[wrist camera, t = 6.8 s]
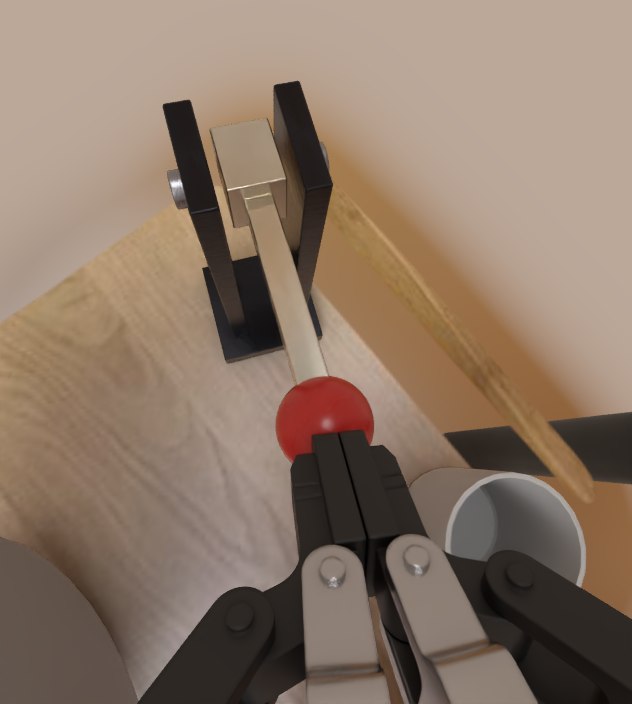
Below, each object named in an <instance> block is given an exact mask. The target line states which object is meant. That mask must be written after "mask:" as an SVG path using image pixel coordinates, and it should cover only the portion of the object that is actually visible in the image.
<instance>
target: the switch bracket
mask: <svg viewBox="0 0 632 704" xmlns="http://www.w3.org/2000/svg"><path fill="white" fill-rule="evenodd" d="M163 110H164V114H165V119H166V123H167V126H168V130H169V134H170V138H171V142H172V146H173V150H174V154H175V158H176V162H177V166H178V169H175V170H169V171H167V176H168V181H169V185H170V188H171V192H172V195H173V198H174V201H175V204H176V207H177V208H178V209H179V210H180V209H185V208H188V210H189V214H190V217H191V219H192V222H193V225H194V228H195V230H196V233H197V236H198V239H199V241H200V244H201V247H202V249H203V252H204V255H205V258H206V260H207V263H208V266H209V267H205V268H202V269H203V273H204V277H205V281H206V285H207V289H208V293H209V297H210V301H211V305H212V309H213V313H214V317H215V321H216V325H217V329H218V333H219V337H220V341H221V345H222V349H223V353H224V357H225V360H226V362H227V363H232V362H236V361H240V360H243V359H247V358H251V357H255V356H259V355H263V354H267V353H270V352H274V351H278V350H282V349H284V346H283V343H282V339H281V336H280V332H279V329H278V325H277V322H276V318H275V315H274V311H273V308H272V304H271V301H270V297H269V294H268V290H267V287H266V283H265V280H264V276H263V273H262V269H261V266H260V262H259V259H258V256H253V257H249V258H244V259H240V260H236V261H232V260H231V256H230V251H229V247H228V243H227V239H226V234H225V230H224V226H223V221H222V217H221V213H220V209H219V205H218V201H217V197H216V194H215V190H214V186H213V182H212V179H211V175H210V171H209V168H208V164H207V160H206V157H205V152H204V149H203V145H202V141H201V137H200V134H199V130H198V126H197V122H196V119H195V115H194V111H193V107H192V104H191V101H190V100H183V101H178V102H172V103H166V104H163ZM274 139H275V143H276V146H277V149H278V152H279V155H280V158H281V161H282V164H283V167H284V170H285V173H286V177H287V217H286V218H282V219H281V222H282V225H283V229H284V232H285V235H286V238H287V242H288V245H289V248H290V251H291V254H292V258H293V261H294V264H295V267H296V271H297V274H298V277H299V280H300V283H301V287H302V290H303V293H304V296H305V300H306V303H307V306H308V309H309V313H310V316H311V319H312V322H313V325H314V329H315V332H316V335H317V338H318V340H320V339H321V338H322V336H323V334H322V331H321V328H320V324H319V321H318V317H317V314H316V311H315V307H314V304H313V301H312V297H311V294H310V291H311V286H312V281H313V276H314V272H315V267H316V262H317V257H318V253H319V248H320V243H321V239H322V234H323V229H324V225H325V220H326V215H327V210H328V206H329V201H330V196H331V191H332V187H333V183H332V180H331V177H330V174H329V161H328V155H327V151H326V148H325V146H324V144H323V142H319V140H318V137H317V134H316V131H315V128H314V125H313V121H312V118H311V115H310V112H309V109H308V106H307V103H306V100H305V97H304V94H303V91H302V88H301V85H300V82H299V81H294V82H288V83H282V84H277V85H274Z"/></svg>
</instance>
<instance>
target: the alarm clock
mask: <svg viewBox="0 0 632 704" xmlns="http://www.w3.org/2000/svg"><path fill="white" fill-rule="evenodd" d="M137 703H138V699H137V695H136V693H135V690H134V688H133V685H132V682H131V680H130V677H129V675H128V672H127V669H126V667H125V664H124V662H123V660H122V658H121V656H120V654H119V652H118V650H117V648H116V646H115V644H114V642H113V640H112V638H111V636H110V634H109V632H108V630H107V629H106V627H105V626H104V624H103V623H102V621H101V620H100V618H99V617H98V615H97V613H96V612H95V610H94V609H93V607H92V606H91V604H90V603H89V602H88V600H87V599H86V598H85V597H84V596H83V594H82V593H81V592H80V591H79V590H78V589H77V587H76V586H75V585H74V584H73V583H72V581H71V580H70V579H69V578H68V577H67V576H66V575H65V574H63V573H62V572H61V571H60V570H59V569H58V568H57V567H56V566H55V565H53V564H52V563H51V562H50V561H49V560H48V559H47V558H45V557H43V556H42V555H40V554H38V553H37V552H35V551H34V550H32V549H30V548H29V547H27V546H25V545H24V544H21V543H18V542H14V541H11V540H8V539H5V538H2V537H0V704H137Z"/></svg>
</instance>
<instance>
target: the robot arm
mask: <svg viewBox="0 0 632 704" xmlns="http://www.w3.org/2000/svg"><path fill="white" fill-rule="evenodd" d="M311 443H312V453H309V454H300V455H296V456H295V459H294V461H293V464H292V466H291V469H290V472H291V487H292V503H293V513H294V521H295V529H296V538H297V546H298V554H299V562H298V565H297V567H296V569H295V570H294V571H293V573H292V574H291V575H290V576H289V577H288V578H287V579H286V580H285V581H283V582H282V583H280V584H278V585H276V586H274V587H272V588H270V589H268V590H266V591H264V592H261V591H260V590H258V589H256V588H252V587H238V588H234V589H231V590H229V591H227V592H226V593H224V594H223V595H221V596H220V597H219V598H218V599H217V600H216V601H215V602H214V604H213V605H212V606H211V608H210V609H209V610H208V612H207V613H206V614H205V615H204V617H203V618H202V619H201V621H200V622H199V623H198V625H197V626H196V627H195V628H194V630H193V631H192V632H191V634H190V635H189V636H188V638H187V639H186V640H185V641H184V643H183V644H182V645H181V647H180V648H179V649H178V651H177V652H176V653H175V655H174V656H173V657H172V658H171V660H170V661H169V662H168V664H167V665H166V666H165V668H164V669H163V670H162V671H161V673H160V674H159V675H158V677H157V678H156V679H155V681H154V682H153V683H152V685H151V686H150V687H149V688H148V690H147V691H146V692H145V694H144V695H143V696H142V698H141V699H140V700H139V701H138V703H137V704H275V702H276V701H277V698H278V696H279V695H280V694H282V693H283V692H285V691H287V690H288V689H290V688H291V687H293V686H295V685H296V684H298V683H300V682H301V681H303V680H305V679H306V701H307V704H391V702H390V696H389V691H388V686H387V681H386V677H385V673H384V671H383V669H382V668H381V666H380V663H379V659H378V654H377V648H376V642H375V636H374V630H373V625H372V619H371V613H370V607H369V601H368V597H373V596H376V599H377V603H378V607H379V611H380V617H379V628H380V632H381V635H382V638H383V641H384V644H385V647H386V650H387V653H388V656H389V659H390V662H391V665H392V668H393V672H394V675H395V678H396V681H397V684H398V687H399V690H400V693H401V696H402V699H403V702H404V704H632V619H630V618H629V617H627V616H625V615H624V614H622V613H621V612H619V611H617V610H616V609H614V608H613V607H611V606H609V605H608V604H606V603H604V602H603V601H601V600H600V599H598V598H596V597H595V596H593V595H592V594H590V593H588V592H587V591H585V590H583V589H582V588H580V587H579V586H577V585H575V584H574V583H572V582H570V581H569V580H567V579H566V578H564V577H562V576H561V575H559V574H558V573H556V572H554V571H553V570H551V569H549V568H548V567H546V566H545V565H543V564H541V563H540V562H538V561H536V560H535V559H533V558H532V557H530V556H528V555H526V554H524V553H521V552H518V551H514V550H502V551H498V552H496V553H494V554H493V555H491V556H490V557H489V559H488V561H487V562H485V561H479V560H473V559H467V558H462V557H458V556H454V555H452V554H449V553H447V552H445V551H444V550H442V549H441V548H440V547H439V546H438V545H437V544H436V543H435V542H434V541H432V540H431V539H430V538H429V536H428V534H427V532H426V531H425V528H424V526H423V523H422V521H421V518H420V516H419V514H418V511H417V509H416V506H415V504H414V501H413V499H412V497H411V494H410V492H409V489H408V487H407V486H406V482H405V480H404V477H403V475H402V474H401V470H400V467H399V465H398V463H397V460H396V458H395V456H394V455H393V454H392V453H391V452H390V451H389V450H388V449H386V448H385V447H384V446H383V445H379V446H369V443H368V440H367V438H366V435H365V432H364V430H363V429H359V430H350V431H341V432H338V433H337V432H333V433H323V434H314V435H312V436H311Z"/></svg>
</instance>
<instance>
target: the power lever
mask: <svg viewBox="0 0 632 704" xmlns="http://www.w3.org/2000/svg"><path fill="white" fill-rule="evenodd" d="M210 134H211V139H212V144H213V148H214V153H215V157H216V162H217V167H218V171H219V175H220V179H221V183H222V186H223V190H224V194H225V197H226V201H227V205H228V208H229V212H230V216H231V219H232V223H233V226H234V228H240V227H245V226H249V227H250V231H251V234H252V238H253V241H254V245H255V248H256V252H257V255H258V259H259V262H260V266H261V269H262V273H263V276H264V280H265V283H266V287H267V290H268V294H269V297H270V301H271V304H272V308H273V311H274V315H275V318H276V322H277V325H278V329H279V332H280V336H281V339H282V343H283V346H284V350H285V353H286V357H287V360H288V364H289V367H290V371H291V374H292V378H293V381H294V385H295V386H294V387H293V388H292V389H291V390H290V391H289V392H288V393H287V394H286V396H285V397H284V399H283V400H282V402H281V404H280V406H279V409H278V412H277V416H276V435H277V440H278V443H279V445H280V447H281V449H282V451H283V453H284V454H285V456H286V457H287V458H288V459H289V460H290V461H291V462H292V463H293V461H294V459H295V456H296V455H300V454H309V453H312V443H311V436H312V435H314V434H323V433H333V432H337V433H338V432H341V431H350V430H359V429H363V430H364V432H365V435H366V438H367V440H368V443H369V446H370V444H371V442H372V438H373V433H374V420H373V414H372V410H371V408H370V405H369V403H368V401H367V399H366V398H365V397H364V395H363V394H362V393H361V392H360V391H359V390H358V389H357V388H356V387H355V386H354V385H352V384H351V383H349V382H347V381H345V380H343V379H340V378H337V377H332V376H329V374H328V371H327V367H326V364H325V361H324V358H323V354H322V351H321V348H320V345H319V342H318V338H317V335H316V332H315V329H314V325H313V322H312V319H311V316H310V313H309V309H308V306H307V303H306V300H305V296H304V293H303V290H302V287H301V283H300V280H299V277H298V274H297V271H296V267H295V264H294V261H293V258H292V254H291V251H290V248H289V245H288V242H287V238H286V235H285V232H284V229H283V225H282V222H281V219H282V218H286V217H287V177H286V173H285V170H284V167H283V164H282V161H281V158H280V155H279V152H278V149H277V146H276V143H275V139H274V136H273V133H272V130H271V127H270V124H269V121H268V119H267V118H264V119H258V120H253V121H247V122H242V123H236V124H231V125H225V126H220V127H214V128H210Z"/></svg>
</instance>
